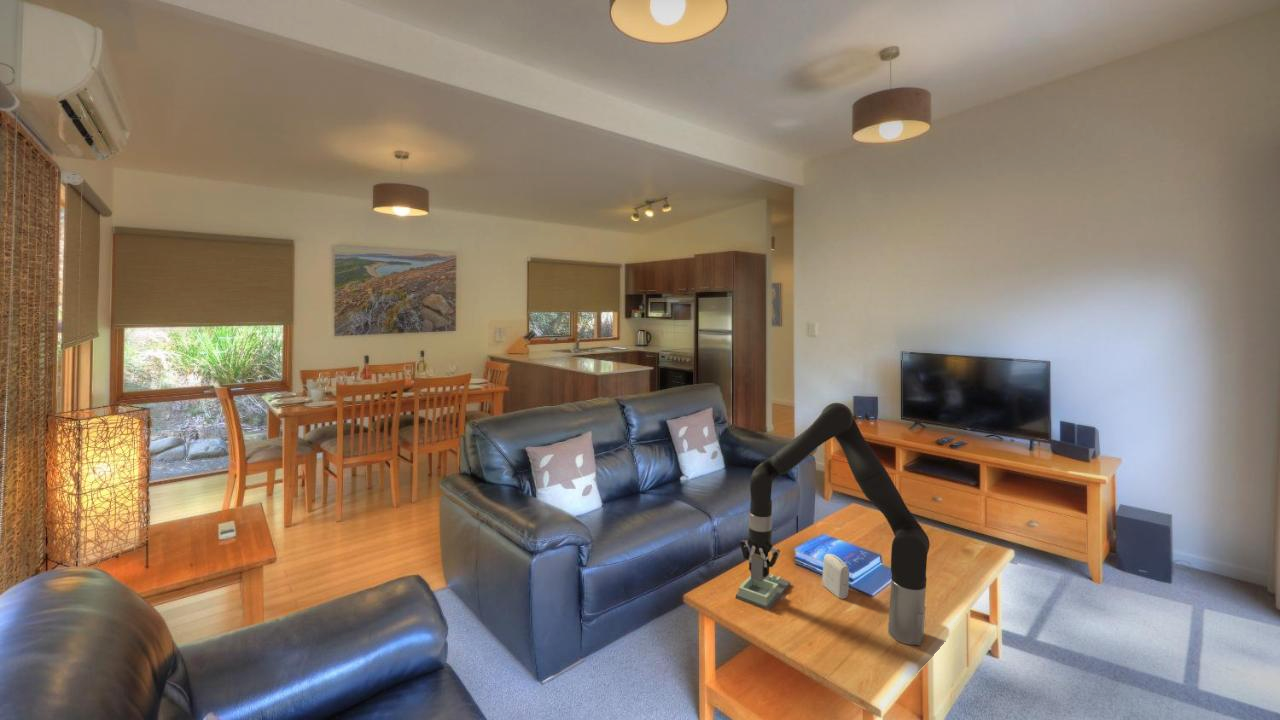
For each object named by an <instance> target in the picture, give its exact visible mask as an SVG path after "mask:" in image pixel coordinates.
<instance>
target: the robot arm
mask: <svg viewBox="0 0 1280 720" xmlns="http://www.w3.org/2000/svg"><path fill="white" fill-rule="evenodd" d="M833 438H835V439H836V440H837V442H838V444H839V445H840V447H841V449H842V451H843V453H844V456H845V458H846V461H847V464H848V466H849V469H850V471H851V473H852V475H853V477H854V479H855V481H856V483H857V485H858V486H859V488H860V490H861V492H862V493H863V494H864V496H865V497H866V499H868V501H870V503H872V504H873V505H874V507H875V508H876V509H878V510H879V511H880V512H881V513H882V515H883V516H884V518H885V519H886V521H887V523H888V525H889V526H890V529H891V530H892V533H893V535H894V538H893V539H892V543H891V551H890V572H891V575H890V577H891V578H890V580H891V581H890V596H889V612H888V613H889V614H888V624H887V625H888V626H887V627H888V628H887V629H888V631H887V632H888V634H889V636H890V637H892V638H893V639H894V640H896V642H900V643H902V644H904V645H911V646H913V645H914V646H918V645H919V647H921V646H922V643H923V639H924V637H925V623H926V622H925V619H926V610H927V609H926V594H927V593H926V592H927V591H926V590H927V566H928V565H927V562H928V553H929V549H930V546H931V545H930V539H929V536H928V535H927V532H925V529H923V527H922V526H921V524H920V523H919V522H918V520H917V519H916V518H915V517H914V516H913V514H912V513H911V511H910V510H909V509H908V507H907V505H906V503H905V501H904V500H903V498H902V495H901V494H900V492H899V491H898V490H899V489H897V487H896V485H895V483H894V482H893V480H892V478H891V476H890V475H889V473H888V471H887V470H886V468H885V466H884V464H883V463H882V462H881V459H879V457H878V456H877V455H876V453H875V451H874V450H873V449H872V448H871V446H870V444H869V443H868V442H867V441H866V440H865V438H864V436H863V434H862V432H861V431H860V428H859V426H858V424H857V422H856V419H855V418H854V415H853V413H852V410H851V409H850V408H849V407H848V406H847V405H845V404H843V403H840V402H833V403H830V404H828V405H827V406H825V407H824V409H823V410H822V411H821V413H820V415H819V416H818V417H817V419H815V420H814V422H813V423H812V424H811V425H810V426H809V427H808V428H807V429H805V430H804V431H803V432H801V433H800V434H799V435H797V436H796V437H794V438H793V439H792V440H790V441H789V442H788V443H786V444H785V445H783V446H782V448H779V450H777V451H776V452H775V453H774V454H773V455H772V456H771V457H769V458H768V459H765V460H764V461H763V462H760V463H759V464H757V466H756V467H755V468H754V469H753V470H752V473H751V476H750V479H749V481H750V482H749V491H750V502H749V503H750V506H749V518H748V539H747V540H746V539H742V540H741V541H740V543H739V545H740V548H741V552H742V555H743V559H745V560H747V561H748V569H749V571H750V573H751V556H754V554H758V555H761V558H762V559H763V561H764V567H763V577H766V576H768V574H769V575H770V568H772V567H774V566H775V564H776V562H777V560H778V558H779V555H780V553H781V551H780V549H778V548H777V549H776V548H774V547H773V545H772V535H773V534H772V532H773V531H772V530H773V517H772V512H773V511H772V510H773V507H772V505H773V502H772V489H773V488H772V487H773V482H774V481H775V480H776V479H777V478H778V477H780V476H782V475H786V474H787V473H788V472H790V471H791V470H793V469H794V468H795V467H797V465H799V464H800V463H801V462H803V460H805V459H806V458H807V457H808V456H809V455H810V454H811V453H812V452H814V451H815V450H816V449H817V448H818V447H820V446H821V445H822V444H824V443H825V442H827V441H828V440H830V439H833ZM749 549H750V550H749ZM770 552H771V556H772V557H771V559H770V554H769V553H770Z"/></svg>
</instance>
